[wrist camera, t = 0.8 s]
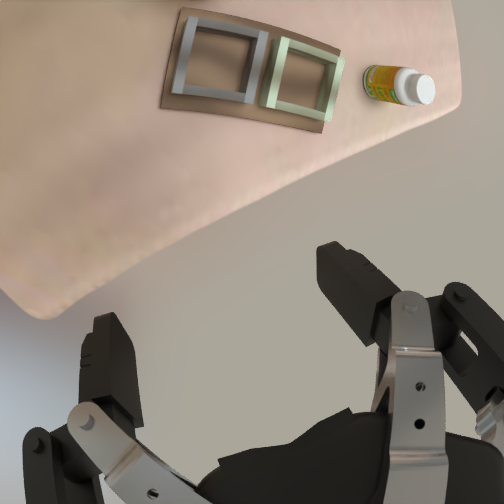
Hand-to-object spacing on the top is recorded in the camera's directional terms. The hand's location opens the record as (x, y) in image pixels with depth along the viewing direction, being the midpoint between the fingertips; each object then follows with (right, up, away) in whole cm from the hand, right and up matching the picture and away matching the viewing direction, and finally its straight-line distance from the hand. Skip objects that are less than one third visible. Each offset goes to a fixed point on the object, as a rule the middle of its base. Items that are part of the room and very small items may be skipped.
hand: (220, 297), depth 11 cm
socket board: (+2, +23, +19) cm, 29 cm away
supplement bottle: (+19, +26, +24) cm, 40 cm away
